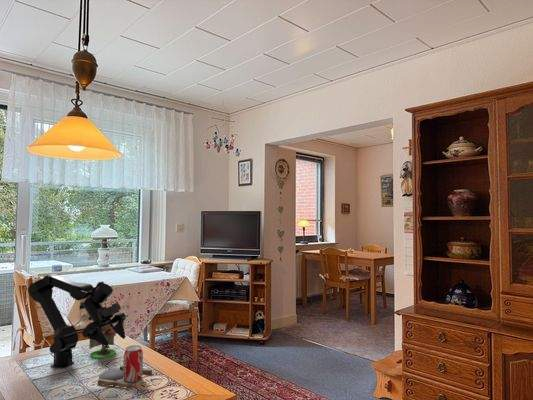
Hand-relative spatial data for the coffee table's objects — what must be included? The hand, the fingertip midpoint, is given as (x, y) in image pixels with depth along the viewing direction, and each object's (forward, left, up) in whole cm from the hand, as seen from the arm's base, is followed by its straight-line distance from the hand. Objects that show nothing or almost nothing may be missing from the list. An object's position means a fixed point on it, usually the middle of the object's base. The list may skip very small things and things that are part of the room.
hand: (116, 341), depth 149 cm
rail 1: (+5, -7, -13) cm, 16 cm away
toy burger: (-20, +19, -14) cm, 31 cm away
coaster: (-1, 0, -13) cm, 13 cm away
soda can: (+8, -1, -14) cm, 16 cm away
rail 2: (+5, +6, -13) cm, 15 cm away
